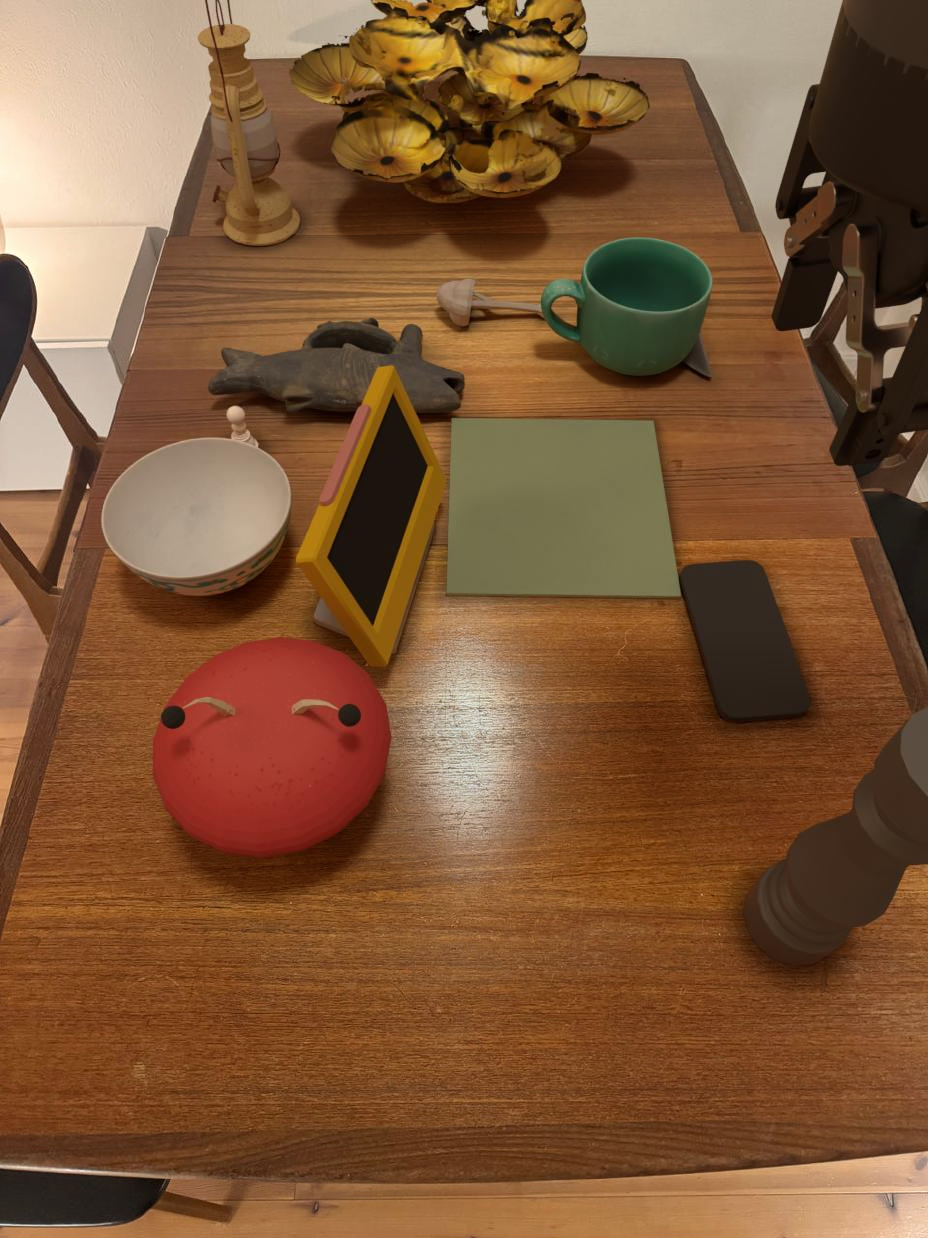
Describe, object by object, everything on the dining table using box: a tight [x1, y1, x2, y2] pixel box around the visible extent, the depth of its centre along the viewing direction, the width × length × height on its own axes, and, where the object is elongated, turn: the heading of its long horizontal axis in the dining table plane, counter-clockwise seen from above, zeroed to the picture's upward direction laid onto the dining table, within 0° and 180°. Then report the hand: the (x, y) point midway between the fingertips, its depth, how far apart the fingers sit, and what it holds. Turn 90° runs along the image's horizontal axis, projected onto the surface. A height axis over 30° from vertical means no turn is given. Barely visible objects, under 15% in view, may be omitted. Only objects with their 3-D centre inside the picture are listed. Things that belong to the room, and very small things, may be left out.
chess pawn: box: [225, 405, 259, 448], centre depth 82 cm, size 3×3×5 cm
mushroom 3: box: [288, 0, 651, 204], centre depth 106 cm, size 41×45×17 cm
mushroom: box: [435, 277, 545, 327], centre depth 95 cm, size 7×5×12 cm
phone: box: [679, 559, 812, 723], centre depth 72 cm, size 7×1×15 cm
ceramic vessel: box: [207, 317, 466, 414], centre depth 88 cm, size 5×25×15 cm
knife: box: [682, 331, 713, 379], centre depth 94 cm, size 14×4×1 cm, turn 1°
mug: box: [540, 236, 714, 377], centre depth 89 cm, size 17×13×10 cm
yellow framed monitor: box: [295, 365, 448, 668], centre depth 69 cm, size 20×8×16 cm, turn 167°
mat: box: [445, 417, 682, 600], centre depth 80 cm, size 20×22×1 cm
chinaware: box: [100, 437, 293, 597], centre depth 73 cm, size 15×15×8 cm
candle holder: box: [742, 706, 928, 967], centre depth 49 cm, size 6×6×25 cm
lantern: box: [197, 0, 301, 247], centre depth 94 cm, size 12×10×30 cm
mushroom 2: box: [152, 636, 393, 859], centre depth 58 cm, size 16×16×15 cm
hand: (821, 387), depth 40 cm, fingers open, 8 cm apart
